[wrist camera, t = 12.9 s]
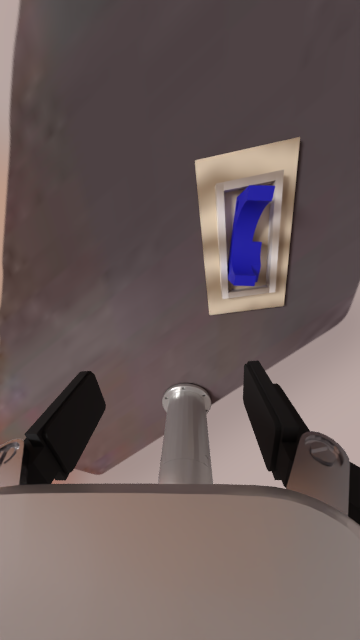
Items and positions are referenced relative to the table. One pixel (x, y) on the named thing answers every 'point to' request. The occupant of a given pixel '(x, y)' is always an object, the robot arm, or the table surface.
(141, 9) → the table surface
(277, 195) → the clip cradle
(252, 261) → the blue curved piece
